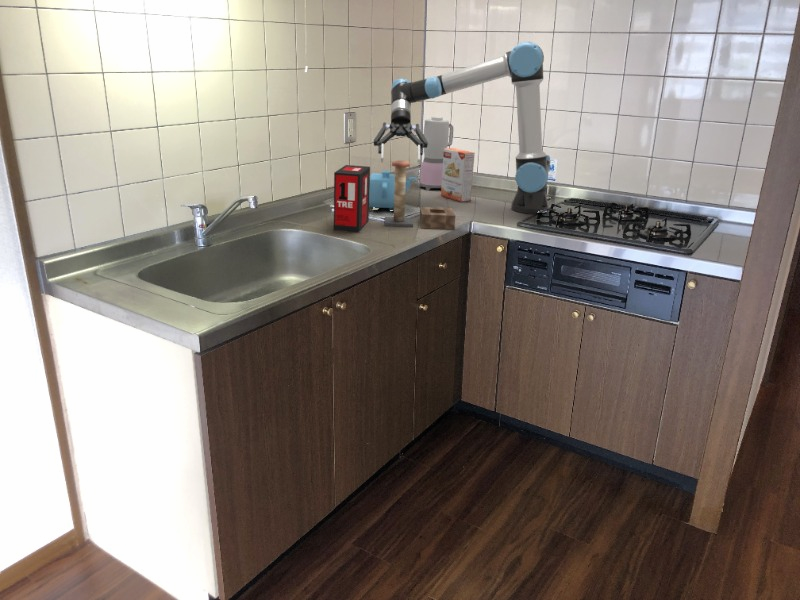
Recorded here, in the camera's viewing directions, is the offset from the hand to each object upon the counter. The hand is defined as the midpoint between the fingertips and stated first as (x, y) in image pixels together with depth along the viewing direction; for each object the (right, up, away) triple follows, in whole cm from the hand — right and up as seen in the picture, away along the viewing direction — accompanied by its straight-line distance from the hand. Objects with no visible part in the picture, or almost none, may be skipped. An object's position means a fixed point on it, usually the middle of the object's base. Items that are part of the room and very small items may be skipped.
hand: (400, 160), depth 242 cm
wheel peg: (-1, -22, -2) cm, 22 cm away
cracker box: (+24, -7, +43) cm, 50 cm away
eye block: (+13, -24, -1) cm, 27 cm away
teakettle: (-6, -15, +21) cm, 26 cm away
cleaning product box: (-18, -25, -8) cm, 32 cm away
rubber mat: (-1, -23, -2) cm, 23 cm away
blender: (+16, +1, +64) cm, 66 cm away
